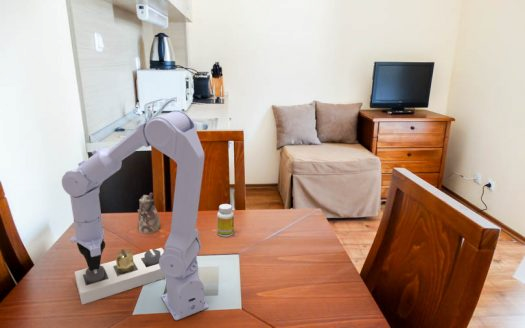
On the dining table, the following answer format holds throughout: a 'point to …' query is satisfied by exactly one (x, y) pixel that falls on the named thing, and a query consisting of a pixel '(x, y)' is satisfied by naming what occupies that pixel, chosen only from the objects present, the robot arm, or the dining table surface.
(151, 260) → the black knob
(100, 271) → the black knob
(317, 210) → the dining table surface
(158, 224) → the figurine
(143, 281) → the control deck
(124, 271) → the brass knob middle
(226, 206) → the supplement bottle
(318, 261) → the dining table surface
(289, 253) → the dining table surface
